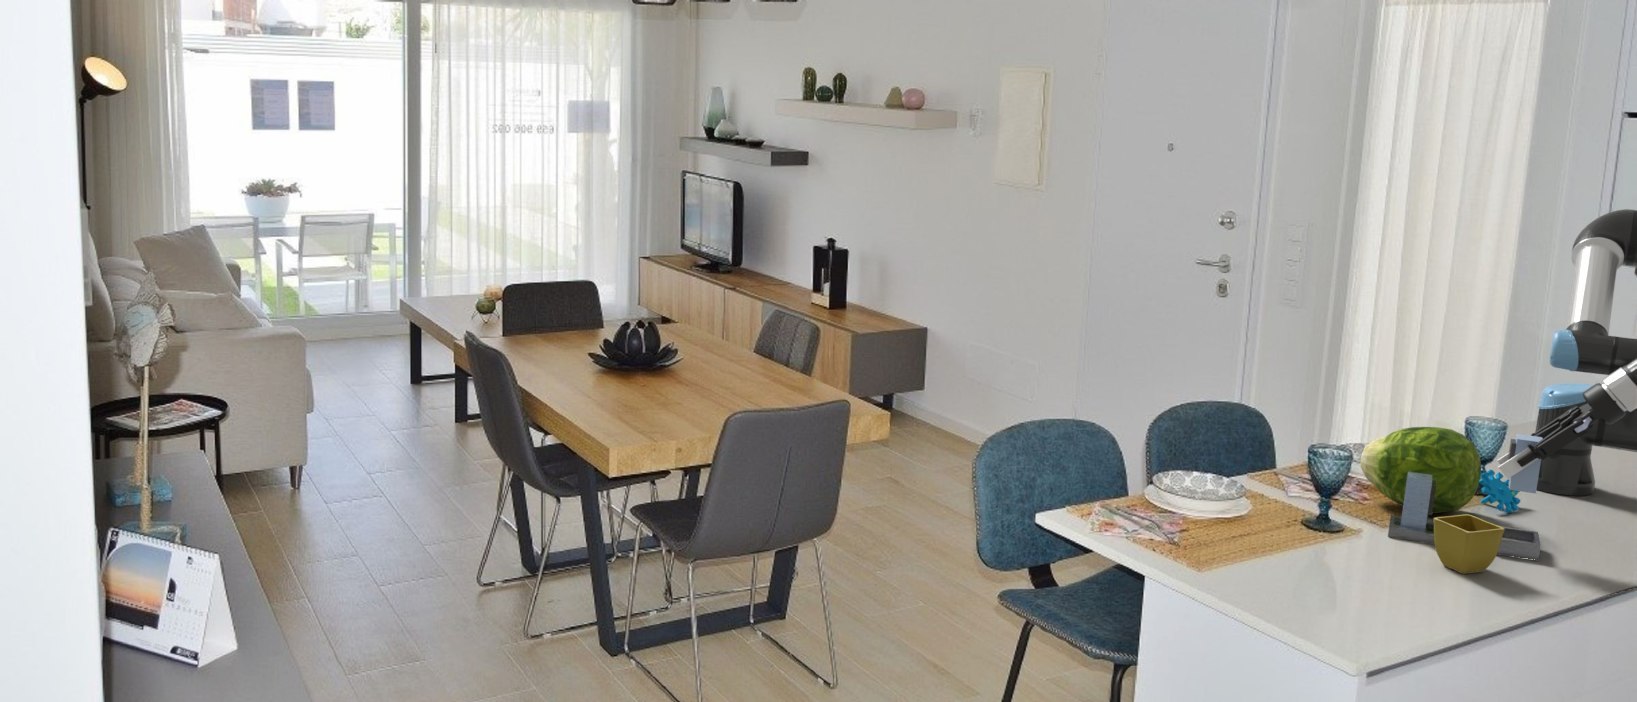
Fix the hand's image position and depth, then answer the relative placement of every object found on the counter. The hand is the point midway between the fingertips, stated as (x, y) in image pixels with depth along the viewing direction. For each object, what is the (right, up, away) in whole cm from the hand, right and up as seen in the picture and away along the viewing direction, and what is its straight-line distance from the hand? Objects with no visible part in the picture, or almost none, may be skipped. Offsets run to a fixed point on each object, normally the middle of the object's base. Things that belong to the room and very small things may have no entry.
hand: (1502, 469), depth 269 cm
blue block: (+3, -4, -1) cm, 5 cm away
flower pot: (-12, -18, -9) cm, 24 cm away
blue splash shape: (+13, -11, +29) cm, 33 cm away
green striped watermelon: (-6, -11, +26) cm, 29 cm away
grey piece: (-5, -15, +6) cm, 17 cm away
